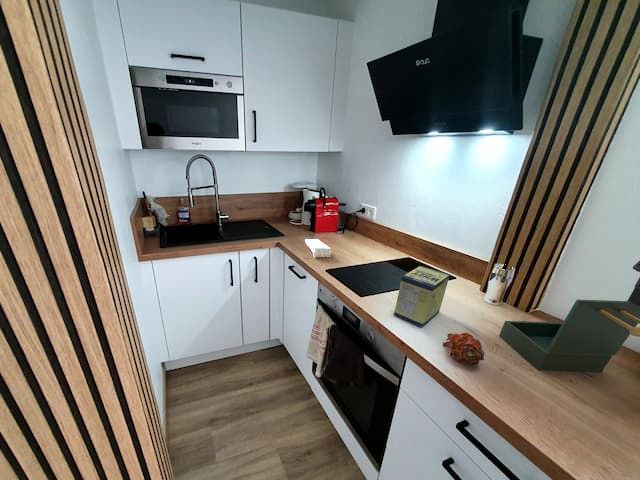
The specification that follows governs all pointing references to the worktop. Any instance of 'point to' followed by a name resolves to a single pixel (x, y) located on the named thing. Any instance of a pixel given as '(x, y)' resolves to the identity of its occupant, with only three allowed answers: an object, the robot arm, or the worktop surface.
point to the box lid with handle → (596, 327)
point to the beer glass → (498, 284)
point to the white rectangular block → (318, 248)
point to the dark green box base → (535, 342)
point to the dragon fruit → (465, 348)
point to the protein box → (421, 295)
